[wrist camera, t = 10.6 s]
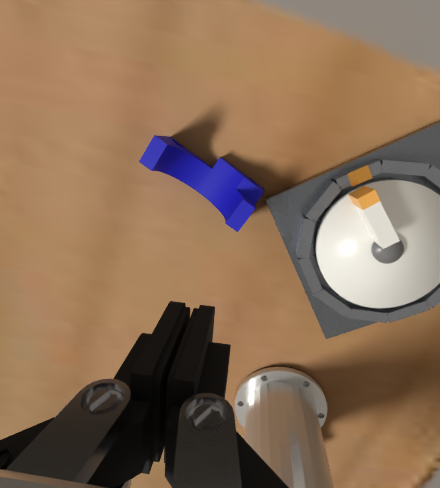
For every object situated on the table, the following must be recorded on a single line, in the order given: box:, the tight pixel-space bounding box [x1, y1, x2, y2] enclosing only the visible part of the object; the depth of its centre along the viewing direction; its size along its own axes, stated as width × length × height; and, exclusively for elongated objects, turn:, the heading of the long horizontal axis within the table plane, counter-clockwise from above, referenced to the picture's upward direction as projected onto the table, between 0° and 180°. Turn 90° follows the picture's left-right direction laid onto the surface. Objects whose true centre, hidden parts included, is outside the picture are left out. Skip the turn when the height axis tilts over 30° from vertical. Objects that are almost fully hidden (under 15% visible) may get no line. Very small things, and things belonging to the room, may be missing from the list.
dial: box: [315, 179, 440, 308], centre depth 33 cm, size 14×14×5 cm
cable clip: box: [139, 135, 264, 232], centre depth 34 cm, size 12×4×6 cm, turn 55°
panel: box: [265, 121, 440, 339], centre depth 35 cm, size 19×19×4 cm
